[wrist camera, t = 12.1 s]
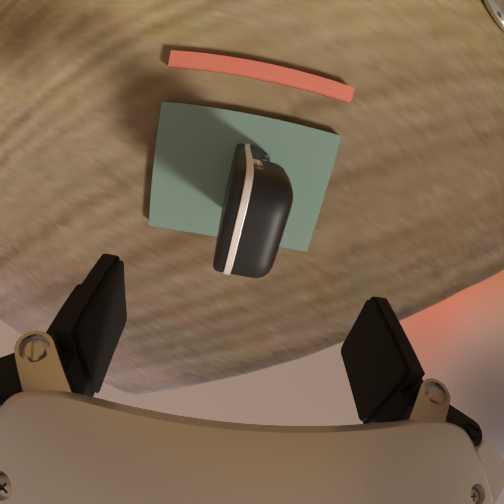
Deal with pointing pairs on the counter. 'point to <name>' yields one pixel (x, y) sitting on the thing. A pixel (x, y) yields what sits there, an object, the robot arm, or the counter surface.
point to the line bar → (261, 73)
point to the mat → (220, 161)
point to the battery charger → (252, 214)
